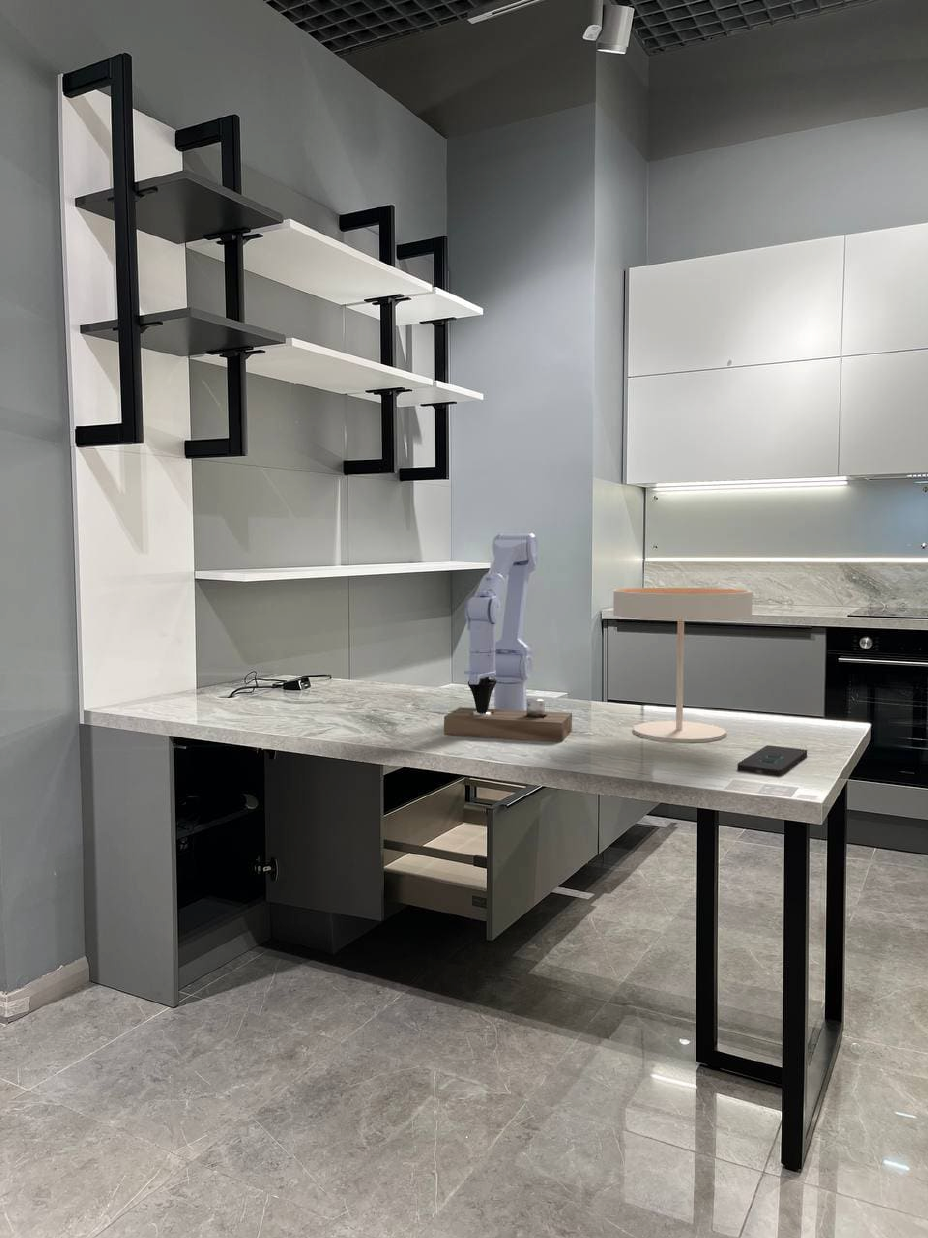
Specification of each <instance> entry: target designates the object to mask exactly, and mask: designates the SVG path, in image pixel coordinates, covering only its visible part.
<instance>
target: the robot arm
mask: <svg viewBox="0 0 928 1238" xmlns="http://www.w3.org/2000/svg"><path fill="white" fill-rule="evenodd" d="M491 547H492V554H493V557H494V559H493V562H492V564H491V567H490V572H488V573H486V574H484V575H483V577H482V578H481V581H480V582H479V585H478V588H477V590H476V592H475V594H474V596H472V597H470V598H468V599H467V600H466V603H465V607H464V617H465V620H466V628H467V631H469V633H468V634H469V638H468V641H469V644H468V645H469V647H468V651H469V652H468V653H469V658H468V659H469V661H468V662H469V663H468V664H469V666H468V667H469V669H466V670H464V671H463V674H464V675H468V681H467V686H468V688H469V689H470V692H471V693H472V694H471V695H472V697H473V701H474V706H475V708H476V710H477V713H487V712H488V709H490V702H491V698H492V694H493V709H503V710H524V711H526V699H527V687H526V685H525V682H526V681H528V679H530V677H531V675H532V671H533V661H532V660H533V659H532V649H531V648H530V646H528V645H527V644H526V643H525V642H523V640H522V638H523V633H524V631H523V630H524V622H525V614H526V613H525V612H526V606H527V605H526V604H527V594H528V588H529V587H528V585H529V580H530V579H529V578H530V574H531V573H533V572H534V571H536V569H537V563H538V556H539V542H538V539H537V536H536V535H535V534H534V533H532V532H531V533H509V534H508V533H496V534H495V536H494V537H493V539H492V546H491ZM506 577H508V581H507V582H506V580H505V579H506ZM505 592H506V595H505V605H504V613H503V621H502V622H503V623H502V629H501V637H500V639H499V640H498V641H496V623H498V621H499V620H500V619H499V618H500V614H501V613H500V611H501V607H502V604H501V600H502V598H503V596H504V594H505Z"/></svg>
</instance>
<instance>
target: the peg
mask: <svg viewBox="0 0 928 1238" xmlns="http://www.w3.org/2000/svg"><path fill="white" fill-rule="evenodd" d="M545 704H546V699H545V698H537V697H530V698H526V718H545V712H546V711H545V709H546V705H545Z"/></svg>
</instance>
